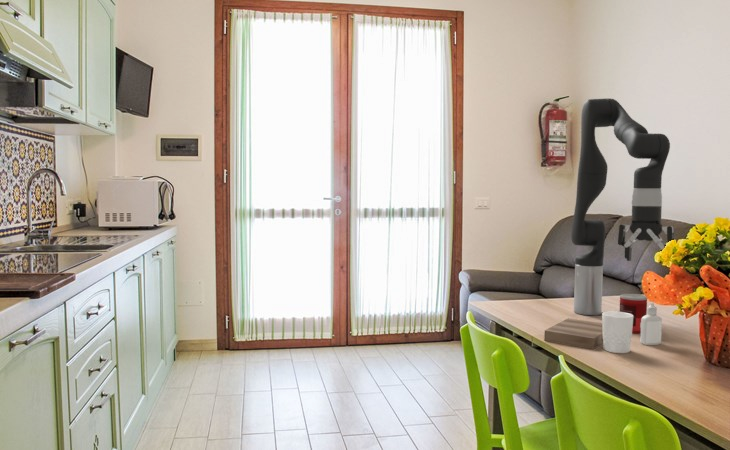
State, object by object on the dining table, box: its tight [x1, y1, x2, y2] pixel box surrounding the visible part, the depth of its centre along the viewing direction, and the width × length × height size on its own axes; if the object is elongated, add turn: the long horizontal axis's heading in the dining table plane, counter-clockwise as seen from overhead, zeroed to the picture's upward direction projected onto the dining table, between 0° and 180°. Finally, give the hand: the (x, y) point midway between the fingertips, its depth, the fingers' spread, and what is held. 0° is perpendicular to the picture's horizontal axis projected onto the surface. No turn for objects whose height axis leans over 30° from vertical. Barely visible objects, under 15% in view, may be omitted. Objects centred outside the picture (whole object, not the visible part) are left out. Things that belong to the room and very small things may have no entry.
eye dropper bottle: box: [639, 301, 663, 346], centre depth 163 cm, size 4×6×12 cm
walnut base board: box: [543, 317, 603, 350], centre depth 170 cm, size 20×14×3 cm
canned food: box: [619, 293, 648, 334], centre depth 178 cm, size 8×8×11 cm
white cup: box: [601, 310, 633, 354], centre depth 157 cm, size 8×8×10 cm
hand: (644, 261), depth 162 cm, fingers open, 8 cm apart
